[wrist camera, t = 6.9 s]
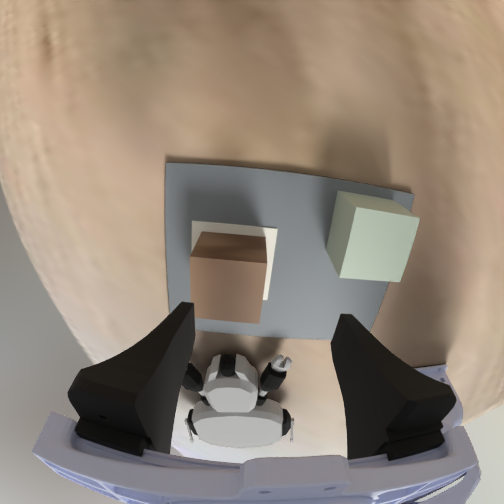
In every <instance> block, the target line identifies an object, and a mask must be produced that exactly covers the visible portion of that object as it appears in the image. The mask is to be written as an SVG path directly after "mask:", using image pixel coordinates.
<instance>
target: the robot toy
mask: <svg viewBox="0 0 504 504" xmlns="http://www.w3.org/2000/svg"><path fill="white" fill-rule="evenodd" d="M220 356H221V354H220V355H217V356H215V357H213V360H212V363H211V365H210V366H209V367H208V368H207V372H206V377H205V382H204V386H203V380H202V375H201V373H200V372H199V371H198V370H197V369H196V368H195V367H194V366H193V365H192V363H188V366H187V369H186V372H185V375H184V378H183V381H182V386H183V387H184V388H185V389H187V390H191V391H196V392H199V393H200V394H201V401H199V402H197V403H196V405H195V407H194V409H191V410H190V411H189V414H188V418H186V419H185V424H186V425H187V428H188V432H189V435H190V441H191V443H193V441H194V440H193V438H192V434H191V430H192V432H193V433H194V434H195V435H198V437H199V439H200V440H202V441H204V442H206V443H209V444H212V445H216V446H222V447H231V448H252V447H261V446H267V445H271V444H273V443H275V442H277V441H279V440H281V437H282V436H283V435H286V434H287V432H288V431H289V429H290V428H291V438H290V442H291V444H292V443H293V425H294V418H291V416H290V414H289V413H288V411H287V409H282V407H281V406H280V404H279V403H278V402H276V401H273V400H271V399H267V392H268V391H273V390H276V389H278V388H279V386H280V385H281V383H282V382H283V380H284V379H285V377H286V373H287V372H286V370H288V369H289V368H290V366H291V363H292V361H291V359H290V358H289V357H286V358H285V359H284V358H283V356H282V355H277V356H276V357H275V358H274V359H273V360H272V361H271V362H269V363H268V365H267V367H266V368H265V370H264V371H263V373H262V375H261V378H260V383H261V388H260V389H258V372H257V371H256V369H255V367H253V366H252V365H250V363H249V362H248V360H247V359H246V357H245V356H241V355H238V354H236V360H235V357H234V355H232V354H224V355H222V356H221V358H220ZM283 359H284V361H282V360H283ZM190 429H191V430H190Z"/></svg>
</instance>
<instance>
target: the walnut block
mask: <svg viewBox="0 0 504 504" xmlns="http://www.w3.org/2000/svg"><path fill="white" fill-rule="evenodd" d="M266 271H267V249H266V237H261V236H250V235H239V234H228V233H216V232H204V231H202V232H201V234H200V236H199V238H198V240H197V242H196V244H195V246H194V249H193V251H192V253H191V255H190V296H191V303H194V311H195V318H201V319H210V320H220V321H230V322H241V323H253V324H259V323H260V316H261V308H262V301H263V294H264V286H265V278H266Z"/></svg>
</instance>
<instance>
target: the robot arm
mask: <svg viewBox="0 0 504 504" xmlns="http://www.w3.org/2000/svg"><path fill="white" fill-rule="evenodd" d="M194 340H195V311H194V303H191V302H183V301H182V302H181V303H180V304H179V305H178V306H177V307H176V308H175V309H174V310H173V311H172V312H171V313H170V314H169V315H168V316H167V317H166V318H165V319H164V320H163V321H162V322H161V323H160V324H159V325H158V326H157V327H156V328H155V329H154V330H153V331H151V332H150V333H149V334H148V335H147V336H146V337H144V338H143V339H142V340H140V341H139V342H138V343H136V344H135V345H133V346H132V347H130V348H129V349H127V350H125V351H123V352H122V353H120V354H118V355H116V356H114V357H112V358H110V359H108V360H106V361H103V362H101V363H98V364H96V365H93V366H90V367H87V368H84V369H81V370H80V371H79V373H78V374H77V376H76V378H75V379H74V381H73V383H72V385H71V387H70V389H69V391H68V398H69V400H70V402H71V404H72V405H73V407H74V408H75V410H76V412H77V413H78V414H79V416H80V419H79V421H78V423H77V422H76V421H75V420H73V419H71V418H69V417H67V416H64V415H62V414H60V413H57V412H55V411H51V413H50V415H49V417H48V419H47V421H46V423H45V425H44V427H43V429H42V431H41V433H40V435H39V437H38V439H37V441H36V443H35V445H34V448H33V450H32V452H33V453H34V454H35V455H36V456H37V457H38V458H39V459H40V460H41V461H43V462H44V463H45V464H46V465H47V466H48V467H50V468H51V469H52V470H53V471H55V472H56V473H57V474H59V475H61V476H63V477H65V478H67V479H69V480H71V481H73V482H75V483H77V484H80V485H82V486H84V487H87V488H89V489H91V490H93V491H96V492H98V493H101V494H103V495H105V496H108V497H110V498H113V499H116V500H118V501H121V502H124V503H127V504H465V502H466V501H467V499H468V498H469V497H470V495H471V494H472V492H473V491H474V489H475V488H476V486H477V485H478V483H479V481H480V476H481V470H480V467H479V465H478V459H477V456H476V454H475V451H474V448H473V446H472V443H471V441H470V439H469V437H468V435H467V432H466V430H465V428H464V427H463V426H460V425H461V423H462V419H463V407H462V403H461V401H460V399H459V397H458V395H457V393H456V391H455V389H454V388H453V386H452V384H451V382H450V380H449V378H448V376H447V375H446V373H445V371H446V369H447V367H448V366H447V365H446V364H444V365H437V366H430V367H422V368H412V367H411V366H409V365H408V364H406V363H405V362H403V361H402V360H400V359H399V358H398V357H396V356H395V355H394V354H393V353H391V352H390V351H389V350H388V349H387V348H386V347H385V346H383V345H382V344H381V343H380V342H379V341H378V340H377V339H376V338H375V337H374V336H373V335H372V334H371V333H370V332H369V331H368V330H367V329H366V328H365V327H364V326H363V325H362V324H361V323H360V322H359V321H358V320H357V319H356V318H355V317H354V316H353V315H352V314H340V317H339V320H338V323H337V326H336V329H335V332H334V335H333V338H332V341H331V351H332V358H333V363H334V367H335V370H336V374H337V378H338V381H339V385H340V389H341V392H342V396H343V401H344V408H345V416H346V428H347V458H345V457H343V456H341V455H323V456H308V457H266V458H255V459H251V460H247V461H246V462H245V463H243V464H240V463H227V462H217V461H208V460H201V459H194V458H187V457H181V456H176V455H170V447H171V439H172V431H173V424H174V418H175V412H176V407H177V401H178V396H179V392H180V388H181V385H182V381H183V378H184V375H185V372H186V369H187V366H188V363H189V360H190V357H191V354H192V350H193V345H194ZM464 475H465V477H464V478H463V480H462V481H461V482H459V483H458V484H457V485H455V486H453V487H451V488H450V489H448V490H446V491H444V492H442V493H440V494H438V495H436V496H434V497H432V498H430V499H428V500H426V501H423V502H415V501H416V500H418V499H420V498H423V497H425V496H427V495H429V494H431V493H433V492H435V491H437V490H439V489H441V488H443V487H445V486H447V485H449V484H450V483H452V482H454V481H456V480H458V479H459V478H461V477H463V476H464Z"/></svg>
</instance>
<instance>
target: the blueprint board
mask: <svg viewBox="0 0 504 504" xmlns="http://www.w3.org/2000/svg"><path fill="white" fill-rule="evenodd" d="M337 191H344V192H350V193H356V194H362V195H368V196H373V197H379V198H384V199H389V200H394V201H395V202H397V203H398V204H400V205H401V206H403V207H404V208H406V209H407V210H409V211H410V212H411V207H412V203H413V199H414V194H412V193H408V192H403V191H399V190H394V189H390V188H385V187H380V186H375V185H370V184H365V183H359V182H354V181H348V180H342V179H336V178H330V177H323V176H317V175H310V174H303V173H295V172H287V171H279V170H270V169H261V168H251V167H240V166H228V165H214V164H198V163H176V162H167V163H166V176H165V230H166V260H167V279H168V294H169V307H170V313H171V312H172V311H173V310H174V309H175V308H176V307H177V306H178V305H179V304H180V303H181V302H182V301H183V302H191V296H190V255H191V253H192V251H193V249H194V246H195V244H196V242H197V240H198V238H199V236H200V234H201V232H202V231H204V232H216V233H228V234H239V235H250V236H261V237H266V249H267V271H266V278H265V286H264V294H263V301H262V308H261V316H260V323H259V324H253V323H241V322H230V321H220V320H210V319H201V318H195V330H201V331H209V332H218V333H228V334H238V335H249V336H262V337H276V338H293V339H317V340H332V338H333V335H334V332H335V329H336V326H337V323H338V320H339V317H340V314H352V315H353V316H354V317H355V318H356V319H357V320H358V321H359V322H360V323H361V324H362V325H363V326H364V327H365V328H366V329H367V330H368V331H369V332H370V330H371V328H372V325H373V323H374V321H375V318H376V316H377V313H378V311H379V308H380V306H381V303H382V300H383V298H384V295H385V292H386V290H387V287H388V284H389V281H376V280H362V279H349V278H339V276H338V274H337V272H336V270H335V268H334V266H333V264H332V262H331V260H330V258H329V256H328V254H327V252H326V246H327V242H328V237H329V232H330V228H331V223H332V218H333V212H334V207H335V202H336V197H337Z"/></svg>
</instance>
